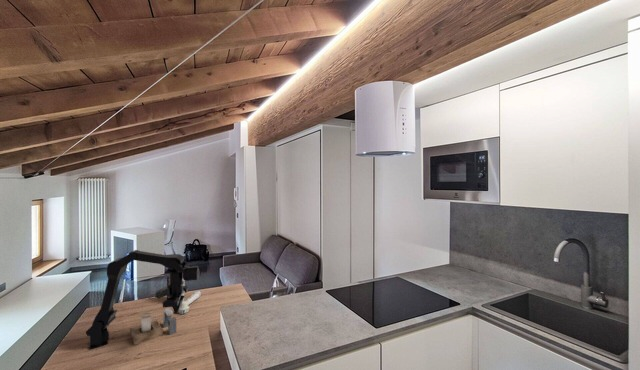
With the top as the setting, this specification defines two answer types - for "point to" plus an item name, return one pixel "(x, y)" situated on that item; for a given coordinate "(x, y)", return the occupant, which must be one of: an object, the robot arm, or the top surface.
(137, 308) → the top surface
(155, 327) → the socket block
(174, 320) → the bolt mount
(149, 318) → the white cylinder
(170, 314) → the lock bolt
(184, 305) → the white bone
